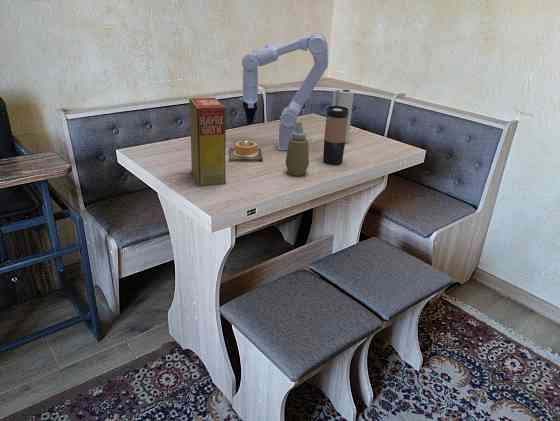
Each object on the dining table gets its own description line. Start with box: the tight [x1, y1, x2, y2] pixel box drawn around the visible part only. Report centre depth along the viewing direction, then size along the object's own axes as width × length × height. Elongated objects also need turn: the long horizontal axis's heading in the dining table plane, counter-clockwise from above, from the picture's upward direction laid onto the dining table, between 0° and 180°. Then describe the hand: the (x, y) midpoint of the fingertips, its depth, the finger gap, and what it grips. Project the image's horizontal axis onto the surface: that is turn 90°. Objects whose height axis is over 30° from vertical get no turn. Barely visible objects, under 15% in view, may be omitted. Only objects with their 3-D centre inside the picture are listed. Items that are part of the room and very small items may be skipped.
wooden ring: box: [234, 140, 258, 155], centre depth 171 cm, size 8×8×3 cm
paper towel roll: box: [331, 88, 355, 145], centre depth 187 cm, size 7×6×21 cm
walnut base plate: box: [228, 147, 264, 163], centre depth 171 cm, size 12×12×1 cm
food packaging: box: [188, 97, 227, 187], centre depth 146 cm, size 13×9×25 cm
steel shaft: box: [242, 139, 250, 147], centre depth 170 cm, size 2×2×5 cm
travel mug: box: [322, 105, 348, 166], centre depth 165 cm, size 8×8×20 cm
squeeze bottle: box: [285, 121, 310, 177], centre depth 154 cm, size 8×8×18 cm
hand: (249, 121), depth 179 cm, fingers open, 4 cm apart
